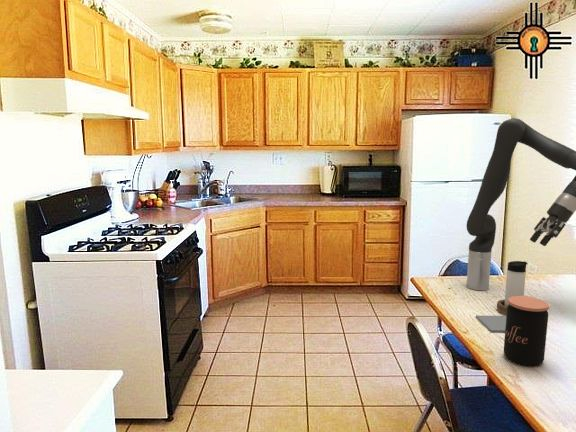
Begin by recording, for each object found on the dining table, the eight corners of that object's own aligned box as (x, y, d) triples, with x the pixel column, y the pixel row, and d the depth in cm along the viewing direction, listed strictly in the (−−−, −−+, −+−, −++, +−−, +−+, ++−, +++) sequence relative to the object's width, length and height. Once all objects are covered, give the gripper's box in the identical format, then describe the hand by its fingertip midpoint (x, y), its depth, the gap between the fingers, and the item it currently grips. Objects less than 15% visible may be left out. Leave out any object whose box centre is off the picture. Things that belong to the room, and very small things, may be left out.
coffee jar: (496, 351, 134) (500, 296, 131) (528, 349, 134) (533, 295, 132) (516, 369, 123) (522, 309, 120) (552, 367, 124) (558, 307, 121)
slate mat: (475, 317, 160) (475, 315, 160) (511, 317, 160) (511, 315, 159) (490, 332, 147) (491, 330, 147) (529, 332, 147) (529, 330, 147)
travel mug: (525, 315, 161) (530, 264, 158) (506, 314, 162) (510, 263, 159) (520, 309, 167) (524, 259, 164) (501, 308, 169) (505, 259, 165)
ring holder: (491, 306, 171) (492, 299, 170) (520, 306, 170) (521, 299, 170) (505, 317, 159) (506, 310, 159) (536, 318, 159) (537, 310, 159)
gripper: (546, 201, 168) (520, 235, 171) (564, 203, 154) (536, 240, 157) (562, 211, 168) (537, 245, 170) (583, 214, 154) (554, 251, 156)
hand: (536, 243), depth 163 cm, fingers open, 8 cm apart
